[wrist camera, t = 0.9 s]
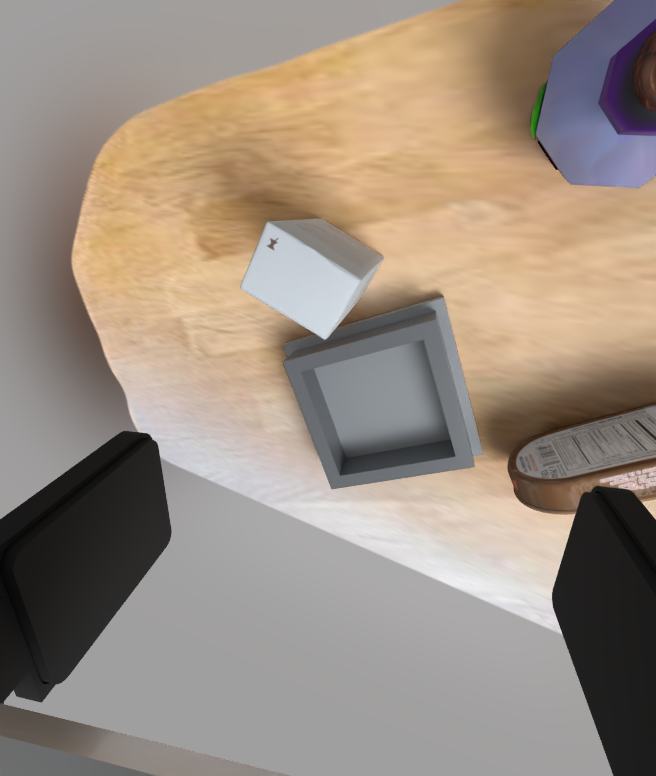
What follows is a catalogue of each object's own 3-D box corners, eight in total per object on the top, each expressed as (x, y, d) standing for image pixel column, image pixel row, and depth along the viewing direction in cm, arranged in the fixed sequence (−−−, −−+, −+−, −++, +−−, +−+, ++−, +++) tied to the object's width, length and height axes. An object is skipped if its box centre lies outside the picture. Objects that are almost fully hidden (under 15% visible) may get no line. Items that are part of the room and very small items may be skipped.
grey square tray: (443, 295, 33) (444, 305, 29) (482, 448, 37) (487, 473, 33) (286, 342, 37) (270, 355, 34) (335, 473, 41) (326, 497, 38)
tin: (507, 467, 37) (526, 532, 29) (496, 438, 36) (512, 496, 28) (712, 417, 31) (800, 481, 24) (704, 381, 31) (792, 435, 23)
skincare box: (297, 265, 34) (234, 287, 24) (321, 217, 33) (265, 216, 22) (359, 303, 34) (325, 343, 24) (387, 257, 33) (363, 277, 22)
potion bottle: (501, 80, 27) (546, -13, 16) (659, 13, 24) (842, -155, 13) (524, 216, 29) (576, 215, 19) (669, 170, 27) (830, 137, 16)
